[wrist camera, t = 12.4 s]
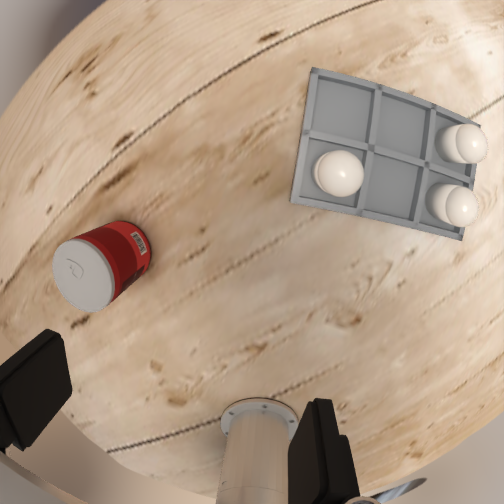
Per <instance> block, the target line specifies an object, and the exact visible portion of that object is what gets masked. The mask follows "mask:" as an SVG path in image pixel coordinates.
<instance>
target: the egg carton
mask: <svg viewBox="0 0 504 504" xmlns="http://www.w3.org/2000/svg"><path fill="white" fill-rule="evenodd" d="M461 124H473V125H476V126H477V127H479V128H480V126H481V125H479V124H477V123H475V122H473V121H471V120H469V119H467V118H465V117H463V116H461V115H459V114H456V113H454V112H452V111H450V110H447V109H445V108H443V107H441V106H438V105H436V104H433V103H431V102H428V101H426V100H423V99H421V98H418V97H416V96H413V95H410V94H407V93H405V92H402V91H399V90H396V89H393V88H390V87H387V86H384V85H381V84H377V83H374V82H371V81H367V80H364V79H360V78H357V77H353V76H349V75H345V74H341V73H337V72H333V71H329V70H324V69H319V68H315V67H312V69H311V71H310V77H309V83H308V90H307V97H306V103H305V110H304V116H303V122H302V129H301V135H300V141H299V147H298V153H297V159H296V165H295V171H294V177H293V183H292V188H291V194H290V200H289V201H290V203H294V204H300V205H305V206H310V207H316V208H321V209H326V210H331V211H336V212H341V213H346V214H351V215H355V216H360V217H365V218H369V219H374V220H378V221H383V222H387V223H392V224H396V225H400V226H404V227H409V228H413V229H417V230H421V231H425V232H429V233H433V234H437V235H441V236H445V237H449V238H452V239H456V240H460V241H462V238H463V234H464V230H465V227H457V226H454V225H451V224H449V223H446V222H444V221H441V220H439V219H436V218H434V217H432V216H431V215H430V214H429V213H428V211H427V209H426V205H425V197H426V193H427V191H428V189H429V188H430V187H431V186H432V185H433V184H435V183H446V184H452V185H458V186H463V187H467V188H468V189H470V190H471V191H472V192H473V186H474V180H475V173H476V166H477V163H476V164H467V163H448V162H445V161H444V160H442V159H441V158H440V157H439V155H438V154H437V152H436V149H435V143H434V141H435V136H436V133H437V132H438V130H440V129H441V128H443V127H449V126H455V125H461ZM335 150H345V151H348V152H350V153H352V154H354V155H355V156H356V157H357V158H358V159H359V160H360V162H361V163H362V166H363V169H364V180H363V183H362V185H361V187H360V188H359V190H358V191H357V192H355V193H354V194H352V195H350V196H347V197H336V196H333V195H331V194H328V193H326V192H324V191H322V190H321V189H319V188H318V187H317V186H316V185H315V183H314V182H313V179H312V175H311V169H312V165H313V163H314V161H315V160H316V159H317V158H318V157H319V156H320V155H322V154H324V153H328V152H331V151H335Z"/></svg>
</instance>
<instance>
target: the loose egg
mask: <svg viewBox="0 0 504 504" xmlns="http://www.w3.org/2000/svg"><path fill="white" fill-rule="evenodd" d="M311 175H312V179H313V182H314V183H315V185H316V186H317V187H318V188H319V189H321V190H322V191H324V192H326V193H328V194H331V195H333V196H336V197H347V196H350V195H352V194H354V193H355V192H357V191H358V190H359V188H360V187H361V185H362V183H363V180H364V169H363V166H362V163H361V162H360V160H359V159H358V158H357V157H356V156H355V155H354V154H352V153H350V152H348V151H345V150H335V151H331V152H328V153H324V154H322V155H320V156H319V157H318V158H317V159H316V160H315V161H314V163H313V165H312V169H311Z"/></svg>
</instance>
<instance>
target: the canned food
mask: <svg viewBox="0 0 504 504" xmlns="http://www.w3.org/2000/svg"><path fill="white" fill-rule="evenodd" d="M150 255H151V252H150V246H149V242H148V240H147V238H146V236H145V235H144V234H143V232H142V231H141V230H140V229H139V228H138V227H136V226H135V225H133V224H131V223H127V222H123V221H115V222H111V223H109V224H106V225H104V226H101V227H99V228H96V229H93V230H91V231H88V232H86V233H83V234H81V235H79V236H76V237H74V238H72V239H70V240H68V241H66V242H64V243H63V244H61V245H60V246H59V247H58V248H57V250H56V252H55V254H54V257H53V264H52V267H53V275H54V279H55V282H56V285H57V287H58V289H59V290H60V292H61V294H62V295H63V296H64V298H65V299H66V300H67V301H68V302H69V303H70V304H72V305H73V306H74V307H76V308H78V309H79V310H82V311H85V312H97V311H100V310H102V309H104V308H105V307H106V306H108V305H109V304H110V303H111V302H112V301H114V300H115V299H116V298H117V297H118V296H119V295H120V294H121V293H122V292H123V291H125V290H126V289H127V288H128V287H129V286H130V285H131V284H132V283H133V282H134V281H136V280H137V279H138V278H139V277H140V276H141V275H142V274H143V273H144V272H145V271H146V269H147V267H148V265H149V261H150Z"/></svg>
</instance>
